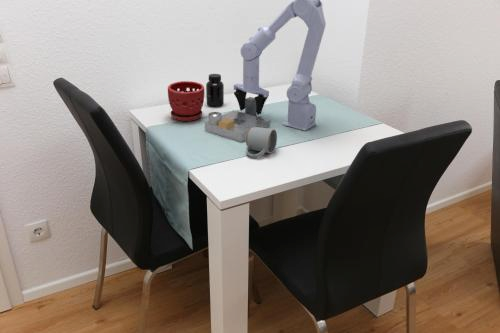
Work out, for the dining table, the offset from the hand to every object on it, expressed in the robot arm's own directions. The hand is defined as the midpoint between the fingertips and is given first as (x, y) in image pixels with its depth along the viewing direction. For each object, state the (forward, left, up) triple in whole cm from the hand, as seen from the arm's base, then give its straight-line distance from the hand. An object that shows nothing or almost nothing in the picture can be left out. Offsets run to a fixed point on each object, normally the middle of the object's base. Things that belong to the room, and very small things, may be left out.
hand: (250, 111), depth 175 cm
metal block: (0, 0, -2) cm, 2 cm away
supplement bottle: (+19, -2, -2) cm, 19 cm away
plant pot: (+18, +15, -2) cm, 24 cm away
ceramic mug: (-21, +23, -2) cm, 32 cm away
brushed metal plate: (-4, +13, -2) cm, 14 cm away
